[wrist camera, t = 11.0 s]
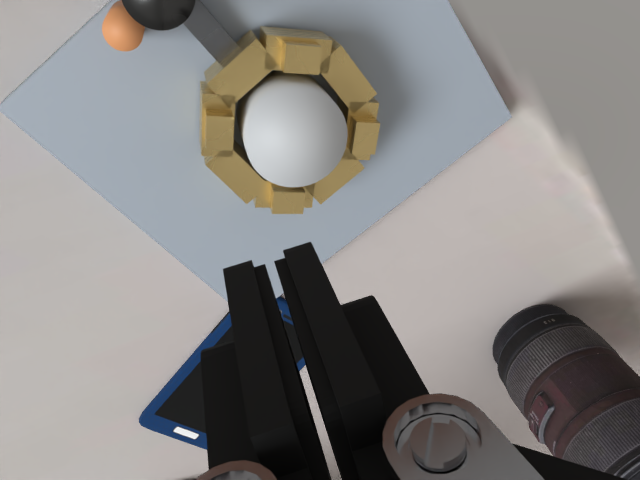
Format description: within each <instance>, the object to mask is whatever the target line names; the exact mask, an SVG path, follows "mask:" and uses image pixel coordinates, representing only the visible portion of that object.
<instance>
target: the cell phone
mask: <svg viewBox="0 0 640 480" xmlns="http://www.w3.org/2000/svg"><path fill="white" fill-rule="evenodd" d="M276 300H277V303H278V306H279V310H280V313H281V316H282V319H283V322H284V325H285V328H286V332H287V335H288V338H289V341H290V344H291V347H292V351H293V354H294V357H295V360H296V363H297V366H298V370H299V371H300V370H301V369H302V368H303V367H304V366H305V365H306V364H305V361H304V357H303V354H302V351H301V348H300V344H299V341H298V338H297V335H296V331H295V328H294V325H293V321H292V318H291V315H290V312H289V308H288V305H287V302H286V300H285V299H283V298H282V297H280V296H279V297H278V298H276ZM231 340H234V336H233V330H232V324H231V317H230V311H229V312H228V313H227V314H226V315H225V317H224V318H223V319H222V320H221V321H220V322H219V324H218V325H217V326H216V327H215V328H214V329H213V331H212V332H211V333H210V334H209V335H208V336H207V338H206V339H205V340H204V341H203V342H202V343H201V345H200V346H199V347H198V348H197V349H196V350H195V352H194V353H193V354H192V355H191V356H190V357H189V358H188V360H187V361H186V362H185V363H184V364H183V365H182V367H181V368H180V369H179V370H178V371H177V372H176V374H175V375H174V376H173V377H172V378H171V379H170V381H169V382H168V383H167V384H166V385H165V386H164V388H163V389H162V390H161V391H160V392H159V393H158V395H157V396H156V397H155V398H154V399H153V400H152V402H151V403H150V404H149V405H148V406H147V407H146V409H145V410H144V411H143V412H142V414H141V416H140V418H139V423H140V424H141V426H143V427H146V428H148V429H150V430H152V431H155V432H158V433H161V434H164V435H167V436H169V437H172V438H175V439H178V440H181V441H184V442H186V443H189V444H192V445H195V446H198V447H201V448H203V449H206V450H207V438H206V425H205V411H204V398H203V385H202V372H201V351H202V350H203V349H207V348H210V347H213V346H216V345H219V344H222V343H225V342H228V341H231Z"/></svg>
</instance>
